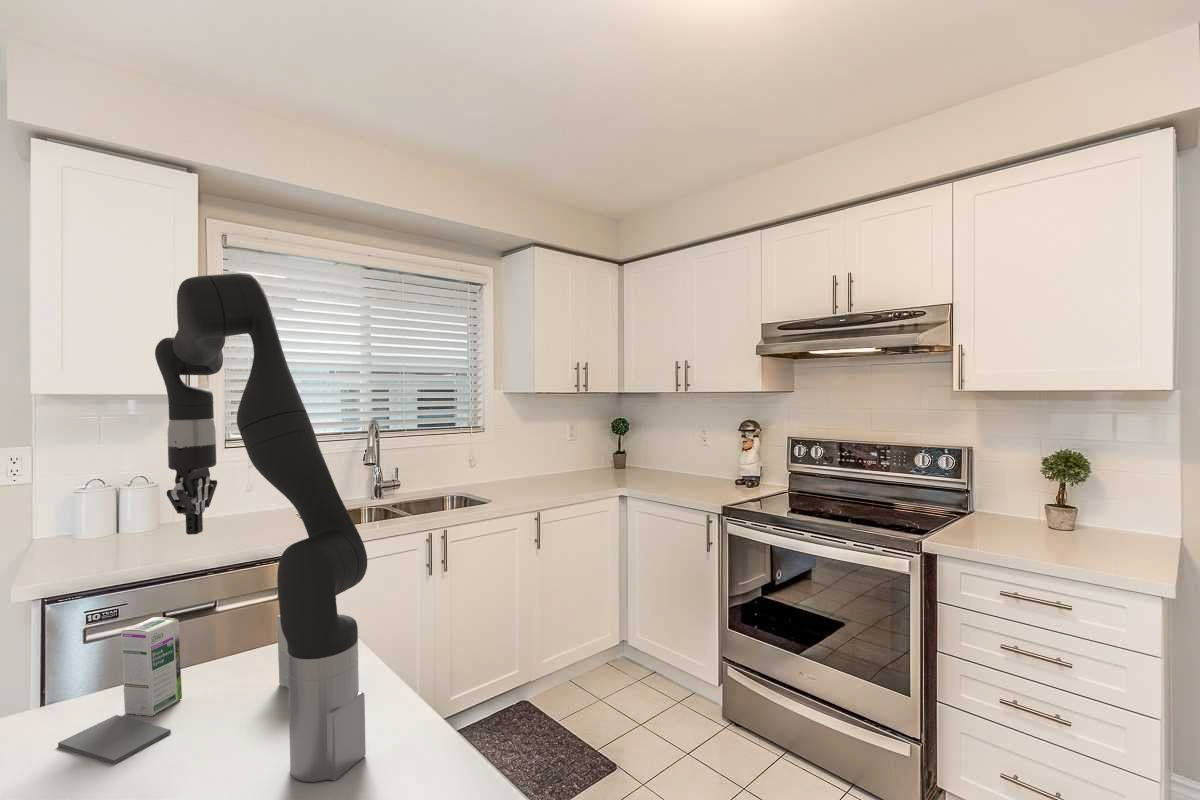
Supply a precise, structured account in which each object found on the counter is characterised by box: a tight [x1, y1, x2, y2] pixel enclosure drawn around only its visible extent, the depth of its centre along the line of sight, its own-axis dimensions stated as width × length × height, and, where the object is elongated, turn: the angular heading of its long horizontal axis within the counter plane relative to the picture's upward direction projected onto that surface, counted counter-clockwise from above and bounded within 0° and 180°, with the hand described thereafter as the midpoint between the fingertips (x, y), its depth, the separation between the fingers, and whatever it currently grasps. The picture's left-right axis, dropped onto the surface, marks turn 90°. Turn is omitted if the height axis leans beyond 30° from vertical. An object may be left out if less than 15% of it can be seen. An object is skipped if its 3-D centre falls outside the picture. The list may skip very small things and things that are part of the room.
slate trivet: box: [57, 714, 172, 765], centre depth 91 cm, size 13×8×1 cm, turn 70°
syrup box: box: [120, 616, 183, 717], centre depth 100 cm, size 6×6×14 cm
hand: (194, 533), depth 112 cm, fingers closed
